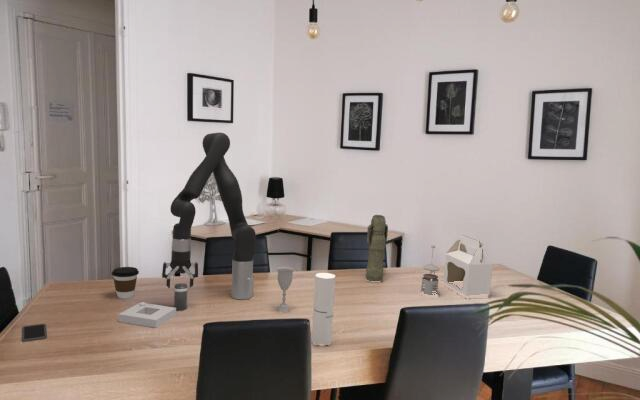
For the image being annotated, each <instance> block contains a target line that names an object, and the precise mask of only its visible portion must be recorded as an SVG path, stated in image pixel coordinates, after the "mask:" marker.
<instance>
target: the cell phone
mask: <svg viewBox="0 0 640 400" xmlns="http://www.w3.org/2000/svg"><path fill="white" fill-rule="evenodd" d="M47 331H48V330H47V325H46V323H40V324H31V325H24V326H22V332H21V337H22V338H21V340H22V343H25V342H33V341H40V340H47V338H48V334H47Z"/></svg>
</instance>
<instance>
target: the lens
mask: <svg viewBox="0 0 640 400" xmlns="http://www.w3.org/2000/svg"><path fill="white" fill-rule="evenodd" d="M173 288H174V290H173V291H174V295H173V296H174V301H173V304H174V305H173V307H174V308H176V312H183V311H186V310H187V307H188V284H187V283H176V284H174V287H173Z"/></svg>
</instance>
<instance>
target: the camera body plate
mask: <svg viewBox="0 0 640 400" xmlns="http://www.w3.org/2000/svg"><path fill="white" fill-rule="evenodd" d="M175 316H177V310H176V308H174V306H166V305H160V304H153V303H148V302H144V301H141V302H139V303H137V304H135V305H133V306H131V307H129V308H128V309H126V310H124V311H122V312H120V313H118V322H119V323H124V324H131V325H136V326H143V327H149V328H158V327H160V326H161V325H163V324H165V323H167V321H168V322H169V320H171V319H172V318H174V317H175Z"/></svg>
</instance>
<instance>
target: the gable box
mask: <svg viewBox="0 0 640 400" xmlns="http://www.w3.org/2000/svg"><path fill="white" fill-rule="evenodd" d="M483 245H484V243H481V241H480V240H477V239H474V238H471V237H469V236H467V235H463V234H461V235H460V239H458V240H456V241H455V242H454V244H453V245H452V246H451V247H450V248H449V249H448V251H447V252H446V253H445V260H444V271H443V278H442V279H443V280H442V281H443V282H444V283H446V284H447V285H449V286H451V287H453V288H454V289H456V290H458V291H459V292H461V293H463V294H464V295H466V296H468V295H469V296H470V295H480V294H489V295H490V294H491V293H490V292H491V284H492V273H493V263H492V261H491V259H490V258H489V256H488V254H487V252H486V250H485V249H484V248H483ZM466 247H469V248H471V249H473V250H475V252H474V254H470V253H468V251H467V248H466ZM454 281H463V287H462V289H460V288H459V287H458V286H457V285H455V284H453V283H449V282H454Z"/></svg>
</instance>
